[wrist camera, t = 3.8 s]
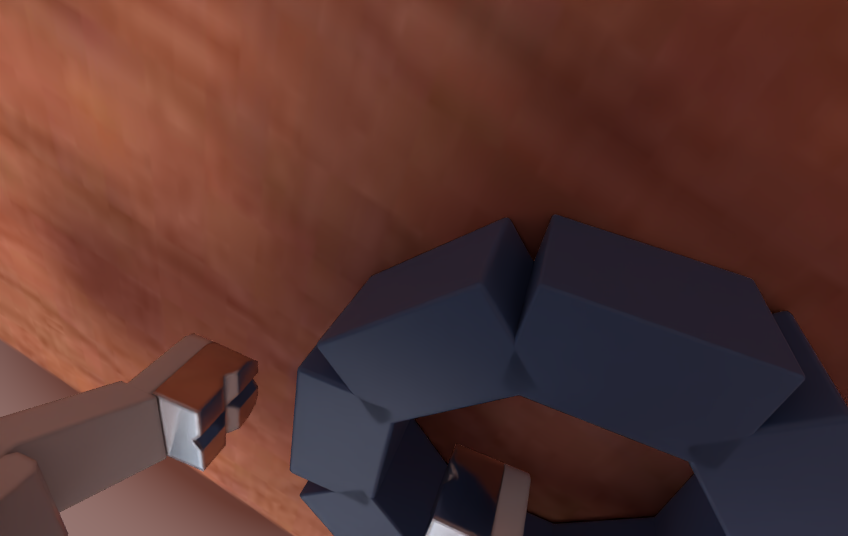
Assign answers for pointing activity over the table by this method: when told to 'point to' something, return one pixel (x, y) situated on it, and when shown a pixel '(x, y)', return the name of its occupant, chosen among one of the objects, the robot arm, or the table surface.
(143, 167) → the table surface
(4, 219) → the table surface
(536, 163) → the table surface
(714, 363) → the ring
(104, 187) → the table surface
